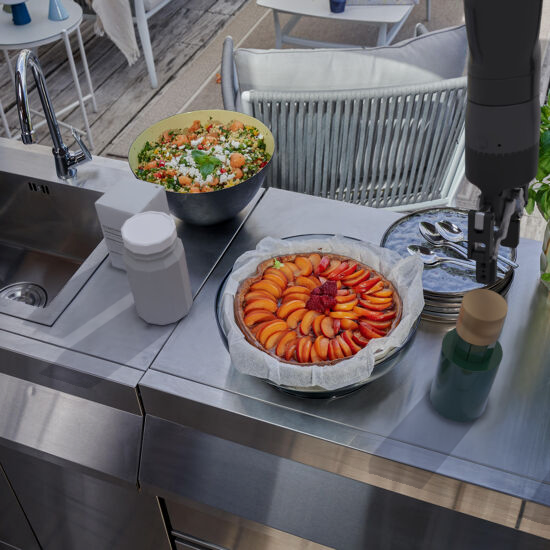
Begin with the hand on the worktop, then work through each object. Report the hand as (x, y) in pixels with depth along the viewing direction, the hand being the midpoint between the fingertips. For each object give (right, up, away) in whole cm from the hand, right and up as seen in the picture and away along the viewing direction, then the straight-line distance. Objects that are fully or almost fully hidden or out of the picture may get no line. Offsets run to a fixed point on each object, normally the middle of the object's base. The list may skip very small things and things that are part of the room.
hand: (498, 263), depth 77 cm
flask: (0, -20, +18) cm, 27 cm away
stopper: (0, -11, +10) cm, 15 cm away
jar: (-46, -7, +33) cm, 57 cm away
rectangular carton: (-51, +2, +43) cm, 67 cm away
